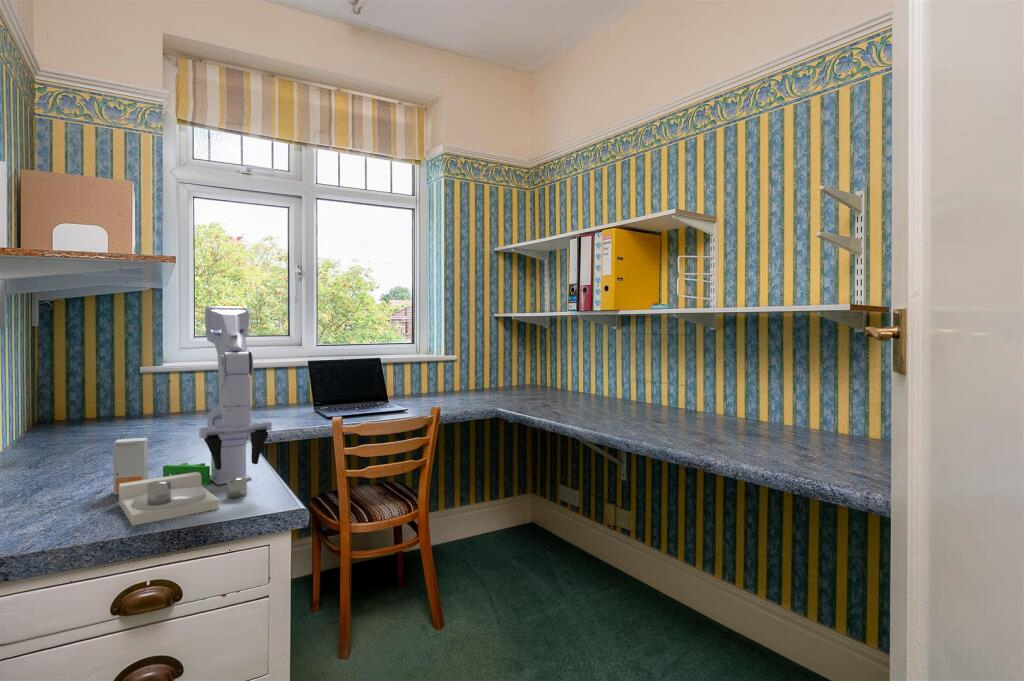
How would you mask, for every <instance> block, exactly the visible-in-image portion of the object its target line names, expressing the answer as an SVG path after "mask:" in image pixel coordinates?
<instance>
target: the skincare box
mask: <svg viewBox="0 0 1024 681" xmlns="http://www.w3.org/2000/svg"><path fill="white" fill-rule="evenodd" d="M148 444H149V438H148V437H132V438H120V439H118V438H117V439H116V440H115V441H113V465H112V466H113V470H112V471H113V482H112V483H113V484H112V486H113V490H112V493H113V494H112V495H114V496H115V495H119V484H120V483H127V482H134V481H140V480H147V479H148V474H149V473H148V472H149V469H148V468H149V467H148V466H149V465H148V462H149V460H148V459H149V458H148V454H149V453H148V451H149V450H148V446H149V445H148Z"/></svg>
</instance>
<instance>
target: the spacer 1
mask: <svg viewBox="0 0 1024 681" xmlns="http://www.w3.org/2000/svg"><path fill="white" fill-rule="evenodd" d="M169 502H171V481H170V480H158V481H153V482H150V483H148V484H147V504H148V505H150V506H156V505H163V504H167V503H169Z"/></svg>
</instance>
